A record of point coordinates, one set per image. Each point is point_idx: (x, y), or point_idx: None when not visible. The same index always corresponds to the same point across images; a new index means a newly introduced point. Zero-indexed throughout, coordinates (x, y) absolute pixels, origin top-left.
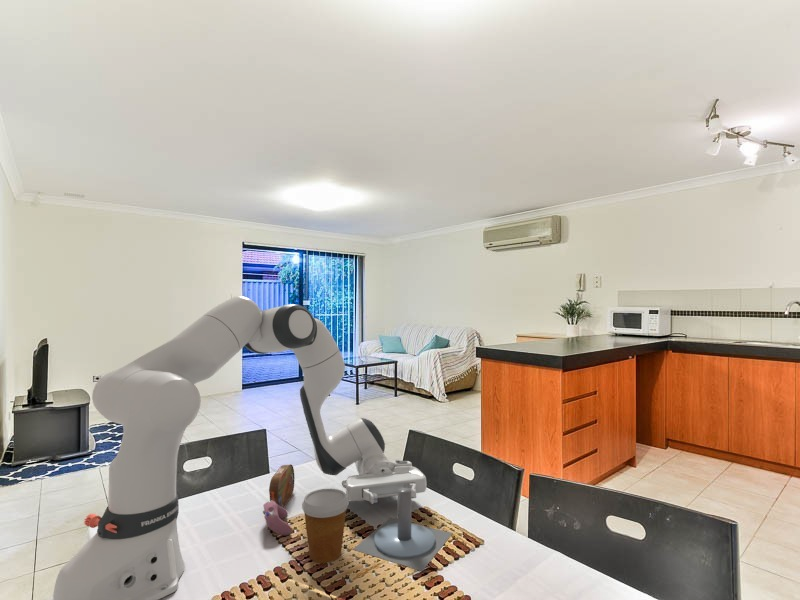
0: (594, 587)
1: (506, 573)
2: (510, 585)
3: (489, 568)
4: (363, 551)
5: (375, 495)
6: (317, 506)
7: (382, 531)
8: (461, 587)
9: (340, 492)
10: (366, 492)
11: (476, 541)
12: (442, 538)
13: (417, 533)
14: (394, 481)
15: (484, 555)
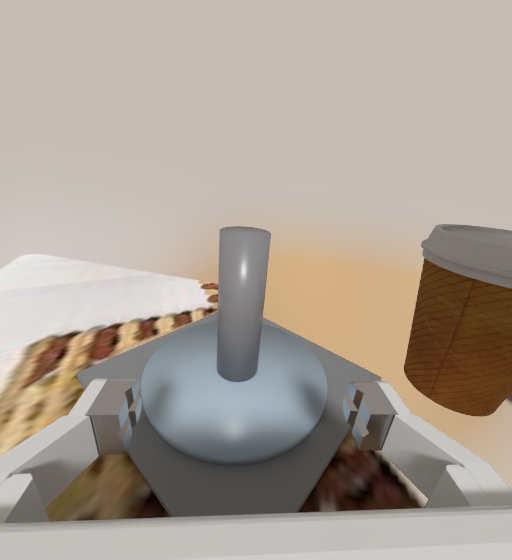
0: (45, 259)
1: (112, 286)
2: (132, 276)
3: (124, 295)
4: (349, 364)
5: (364, 385)
6: (490, 228)
7: (301, 410)
8: (195, 285)
9: (489, 246)
10: (447, 438)
11: (52, 345)
12: (128, 360)
13: (191, 373)
14: (179, 532)
15: (95, 313)
